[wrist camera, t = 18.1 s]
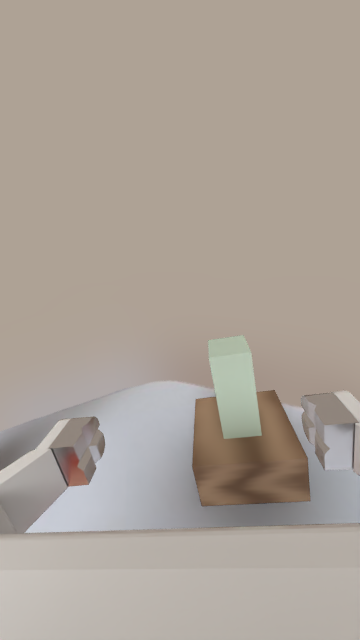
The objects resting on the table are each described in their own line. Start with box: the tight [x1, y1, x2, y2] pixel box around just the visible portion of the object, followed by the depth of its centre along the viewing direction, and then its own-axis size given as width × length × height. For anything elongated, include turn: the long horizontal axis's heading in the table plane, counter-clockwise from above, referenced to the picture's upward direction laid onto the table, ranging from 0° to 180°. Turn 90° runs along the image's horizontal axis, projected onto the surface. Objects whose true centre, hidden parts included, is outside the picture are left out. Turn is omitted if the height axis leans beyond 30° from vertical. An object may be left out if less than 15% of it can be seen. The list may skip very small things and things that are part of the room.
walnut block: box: [192, 390, 310, 506], centre depth 32 cm, size 12×12×6 cm
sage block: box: [208, 335, 262, 439], centre depth 29 cm, size 4×5×11 cm
